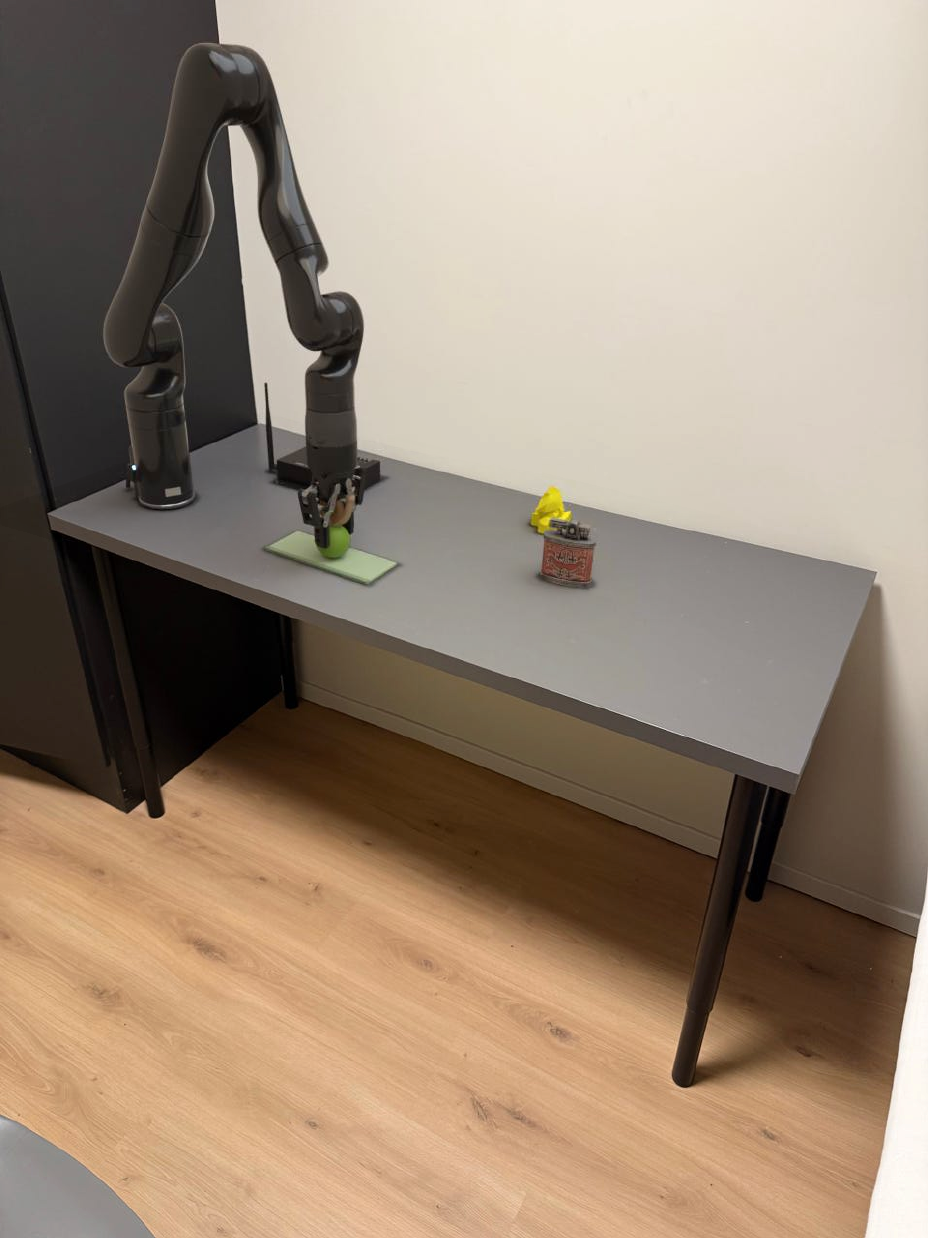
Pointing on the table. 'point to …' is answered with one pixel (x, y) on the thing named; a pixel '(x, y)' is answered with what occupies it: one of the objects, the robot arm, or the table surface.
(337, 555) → the snail figurine
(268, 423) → the wireless controller
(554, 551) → the lighter
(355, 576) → the front mat
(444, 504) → the table surface
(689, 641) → the table surface
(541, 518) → the crumpled paper
